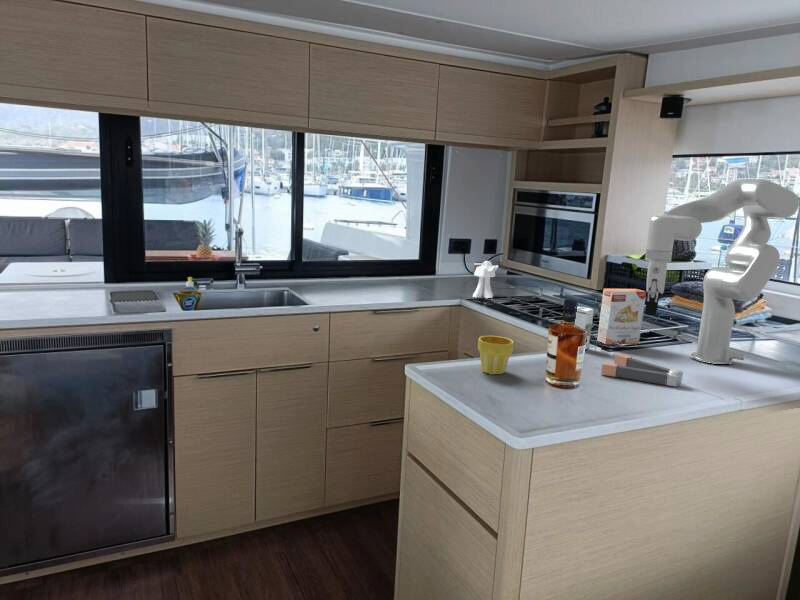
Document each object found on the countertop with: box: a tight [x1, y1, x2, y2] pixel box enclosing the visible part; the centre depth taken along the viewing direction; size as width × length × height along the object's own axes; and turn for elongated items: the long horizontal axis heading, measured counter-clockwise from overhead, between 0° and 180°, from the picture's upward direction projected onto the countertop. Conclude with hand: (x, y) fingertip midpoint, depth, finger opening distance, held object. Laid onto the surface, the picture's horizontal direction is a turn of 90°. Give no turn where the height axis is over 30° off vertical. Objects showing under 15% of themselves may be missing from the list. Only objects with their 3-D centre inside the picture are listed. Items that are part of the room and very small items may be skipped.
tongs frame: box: [600, 361, 684, 388], centre depth 176 cm, size 22×5×4 cm, turn 65°
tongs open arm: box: [614, 353, 672, 373], centre depth 183 cm, size 18×3×3 cm, turn 35°
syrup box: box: [575, 306, 595, 350], centre depth 207 cm, size 6×6×14 cm
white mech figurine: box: [472, 260, 500, 299], centre depth 300 cm, size 12×13×18 cm
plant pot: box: [477, 335, 514, 375], centre depth 177 cm, size 10×10×10 cm
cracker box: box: [596, 288, 647, 345], centre depth 212 cm, size 14×6×21 cm, turn 105°
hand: (651, 311), depth 188 cm, fingers open, 6 cm apart
